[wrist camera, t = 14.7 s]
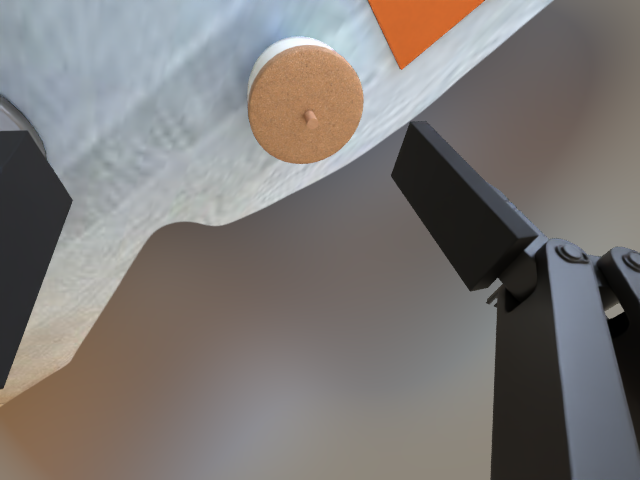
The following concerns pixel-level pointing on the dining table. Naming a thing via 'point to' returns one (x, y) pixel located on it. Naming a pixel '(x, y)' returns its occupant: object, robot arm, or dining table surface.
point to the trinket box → (303, 100)
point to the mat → (417, 23)
